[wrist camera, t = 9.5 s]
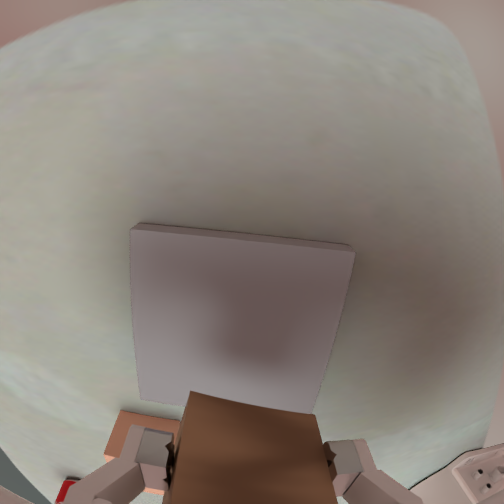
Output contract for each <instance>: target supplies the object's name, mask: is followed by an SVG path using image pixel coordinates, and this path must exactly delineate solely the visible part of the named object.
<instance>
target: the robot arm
mask: <svg viewBox="0 0 504 504" xmlns="http://www.w3.org/2000/svg"><path fill="white" fill-rule="evenodd" d="M173 443H174V433H171V432H166V431H161V430H156V429H152V428H147V427H143V426H138V425H134V424H132V425H131V427H130V428H129V431H128V434H127V437H126V440H125V443H124V446H123V449H122V452H121V455H120V458H116V457H115V458H114V459H112V460H111V461H109V462H108V463H106V464H105V465H103V466H102V467H100V468H99V469H97V470H95V471H94V472H92V473H91V474H89V475H88V476H86V477H84V478H83V479H81V480H80V481H78V482H76V483H75V484H73V485H71V486H70V487H69V489H68V491H67V494H66V497H65V499H64V502H63V504H129V503H130V502H131V501H132V500H133V499H135V498H136V497H137V496H138V495H139V494H140V493H141V492H142V491H143V490H144V489H145V487H146V488H151V489H157V490H163V491H169V485H170V479H171V469H172V467H173V462H174V457H175V445H174V444H173ZM323 449H324V453H325V457H326V459H327V463H328V467H329V468H328V469H329V473H330V477H331V481H332V483H333V486H334V490H335V494H336V497H337V496H343V498H344V499H345V500H346V501H347V502H348V503H349V504H504V443H503V444H499V445H495V446H491V447H487V448H483V449H479V450H475V451H470V452H466V453H464V454H463V455H461V456H460V457H458V458H457V459H456V460H455V461H453V462H452V463H451V464H450V465H448V466H447V467H446V468H444V469H442V470H441V471H439V472H437V473H436V474H434V475H432V476H431V477H429V478H427V479H426V480H424V481H422V482H421V483H419V484H418V485H416V486H415V487H413V488H412V489H411V490H408V489H407V488H405V487H404V486H402V485H401V484H400V483H398V482H397V481H395V480H394V479H393V478H391V477H390V476H388V475H387V474H386V473H384V472H383V471H382V470H377V468H376V466H375V463H374V461H373V458H372V455H371V453H370V450H369V448H368V445H367V443H366V440H364V439H355V440H339V441H326V442H325V443H324V444H323ZM0 504H34V503H32V502H29V501H28V500H26V499H24V498H22V497H20V496H18V495H16V494H14V493H12V492H11V491H9V490H7V489H5V488H4V487H2V486H0Z"/></svg>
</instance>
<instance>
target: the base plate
mask: <svg viewBox="0 0 504 504" xmlns="http://www.w3.org/2000/svg"><path fill="white" fill-rule="evenodd" d="M355 255H356V252H355V251H354V250H353V249H352V248H351V247H349V246H348V245H345V244H337V243H328V242H319V241H311V240H302V239H293V238H284V237H275V236H265V235H256V234H246V233H237V232H227V231H217V230H207V229H197V228H186V227H176V226H165V225H154V224H143V223H138V224H137V225H135V226H134V227H132V228H131V229H130V284H131V307H132V323H133V336H134V348H135V358H136V367H137V376H138V384H139V392H140V399H141V400H147V401H152V402H158V403H165V404H171V405H178V406H185V407H186V403H187V400H188V397H189V393H190V390H191V391H194V392H198V393H202V394H206V395H210V396H214V397H218V398H223V399H227V400H232V401H236V402H241V403H246V404H251V405H256V406H261V407H267V408H273V409H279V410H285V411H291V412H298V413H305V414H311V413H312V410H313V407H314V405H315V402H316V399H317V396H318V393H319V390H320V387H321V383H322V380H323V377H324V374H325V371H326V368H327V364H328V361H329V358H330V354H331V351H332V347H333V344H334V340H335V337H336V333H337V330H338V326H339V322H340V318H341V315H342V311H343V307H344V303H345V299H346V295H347V291H348V287H349V282H350V278H351V274H352V269H353V265H354V260H355Z"/></svg>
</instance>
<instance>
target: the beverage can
mask: <svg viewBox="0 0 504 504" xmlns="http://www.w3.org/2000/svg"><path fill="white" fill-rule="evenodd" d="M78 481H79V480H74V479H72V480H65V481H64V482H63V484H62V487H61V489H60V491H59V494H58V496H57V499H56V501H55V504H63V502H64V499H65V497H66V494H67V491H68V489H69V487H70V486H71V485H73V484H75V483H76V482H78Z"/></svg>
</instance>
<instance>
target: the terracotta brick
mask: <svg viewBox="0 0 504 504" xmlns="http://www.w3.org/2000/svg"><path fill="white" fill-rule="evenodd" d="M132 424H134V425H138V426H143V427H147V428H152V429H156V430H161V431H166V432H171V433H174V443H173V444H175V441H176V437H177V434H178V431H179V427H180V421H177V420H170V419H164V418H158V417H152V416H147V415H141V414H136V413H131V412H126V411H122V410H120V413H119V415H118V418H117V420H116V423H115V425H114V428H113V431H112V433H111V436H110V438H109V441H108V444H107V446H106V449H105V452H104V457H105V459H106V462H107V463H108V462H109V461H111V460H112V459H114V458H115V457H116V458H120V455H121V452H122V449H123V446H124V443H125V440H126V437H127V434H128V431H129V428H130V427H131V425H132ZM143 491H144V492H149V493H154V494H159V495H164V491H163V490H157V489H151V488H146V487H145V489H144V490H143Z"/></svg>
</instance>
